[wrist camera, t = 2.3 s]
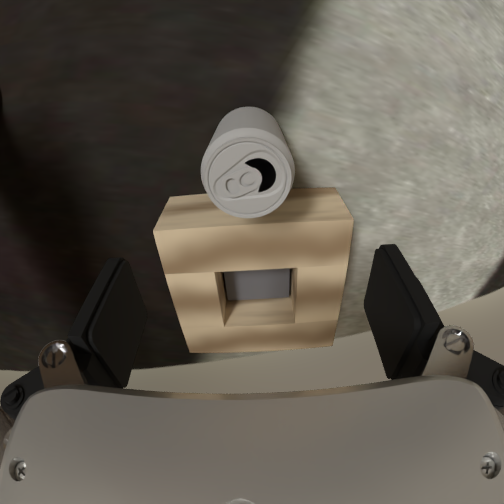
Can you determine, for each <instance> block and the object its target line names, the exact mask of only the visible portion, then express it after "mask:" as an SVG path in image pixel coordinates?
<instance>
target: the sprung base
mask: <svg viewBox="0 0 504 504" xmlns="http://www.w3.org/2000/svg"><path fill="white" fill-rule="evenodd" d="M224 277H225V283H226V290H227V297H228V300H250V299H269V298H286V297H289V278H290V268H283V269H265V270H246V271H226V272H224Z"/></svg>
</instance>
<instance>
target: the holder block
mask: <svg viewBox="0 0 504 504" xmlns="http://www.w3.org/2000/svg"><path fill="white" fill-rule="evenodd" d="M353 223H354V219H353V218H352V216H351V214H350V212H349V211H348V209H347V207H346V205H345V204H344V202H343V200H342V199H341V197H340V195H339V194H338V192H337V190H336V189H335V188H298V189H290V191H289V193H288V195H287V197H286V199H285V200H284V201H283V203H282V204H281V205H280V206H279V207H278V208H277V209H275V210H274V211H272V212H271V213H269V214H266V215H264V216H261V217H256V218H239V217H235V216H232V215H229V214H227V213H225V212H223V211H222V210H220V209H219V208H218V207H217V206H216V205H215V204H214V203H213V202H212V201H211V199H210V198H209V196H208V194H198V195H186V196H175V197H170V198H169V200H168V202H167V204H166V206H165V208H164V210H163V212H162V214H161V216H160V218H159V220H158V222H157V224H156V226H155V228H154V230H153V233H154V237H155V241H156V244H157V248H158V252H159V255H160V259H161V263H162V266H163V270H164V273H165V277H166V280H167V283H168V287H169V290H170V293H171V296H172V300H173V303H174V306H175V309H176V312H177V315H178V318H179V322H180V325H181V328H182V331H183V334H184V336H185V339H186V342H187V345H188V348H189V351H190V353H230V352H258V351H277V350H292V349H304V348H316V347H327V346H332V345H333V341H334V336H335V332H336V327H337V322H338V317H339V312H340V306H341V301H342V295H343V290H344V284H345V278H346V272H347V266H348V259H349V252H350V245H351V238H352V231H353ZM283 268H290V278H289V297H286V298H269V299H250V300H228V297H227V290H226V283H225V277H224V272H226V271H246V270H265V269H283Z"/></svg>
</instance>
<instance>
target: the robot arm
mask: <svg viewBox="0 0 504 504" xmlns="http://www.w3.org/2000/svg"><path fill="white" fill-rule="evenodd" d="M364 309H365V312H366V315H367V318H368V321H369V324H370V327H371V330H372V333H373V336H374V339H375V342H376V345H377V347H378V350H379V354H380V357H381V360H382V363H383V367H384V370H385V373H386V376H387V378H388V379H390V378H391V380H389V381H383V382H376V383H369V384H361V385H353V386H346V387H337V388H329V389H318V390H307V391H293V392H277V393H253V394H200V393H199V394H198V393H173V392H157V391H144V390H133V389H123V387H124V388H125V387H126V386H127V384H128V381H129V377H130V373H131V370H132V366H133V363H134V360H135V356H136V353H137V349H138V346H139V343H140V339H141V336H142V333H143V330H144V326H145V323H146V320H147V310H146V308H145V305H144V303H143V300H142V297H141V295H140V292H139V289H138V287H137V284H136V281H135V279H134V276H133V273H132V270H131V267H130V264H129V262H128V261H125V260H124V258H109V259H108V260H107V262H106V263H105V265H104V267H103V269H102V270H101V272H100V274H99V276H98V277H97V279H96V281H95V283H94V285H93V286H92V288H91V290H90V292H89V294H88V296H87V298H86V300H85V301H84V303H83V305H82V307H81V309H80V311H79V313H78V315H77V317H76V319H75V321H74V323H73V325H72V327H71V329H70V331H69V333H68V339H67V341H66V342H65V341H62V340H56V341H53V342H50V343H49V344H47V345H46V346H45V347H44V348H43V349H42V351H41V353H40V354H39V358H38V364H39V366H38V367H37V368H35V369H33V370H32V371H30V372H29V373H27V374H25V375H24V376H22V377H21V378H19V379H17V380H16V381H14V382H13V383H11V384H10V385H8V386H7V387H6V388H5V390H4V391H3V393H2V395H1V401H0V402H1V406H0V504H504V366H503V365H501V364H499V363H497V362H496V361H494V360H491V359H490V358H488V357H486V356H484V355H482V354H480V353H478V352H476V351H474V342H473V339H472V337H471V336H470V334H469V333H468V332H467V331H466V330H464V329H462V328H461V327H458V326H453V325H449V326H445V327H444V325H443V323H442V321H441V319H440V317H439V315H438V313H437V312H436V310H435V308H434V306H433V304H432V302H431V301H430V299H429V297H428V295H427V293H426V292H425V290H424V288H423V286H422V285H421V283H420V281H419V280H418V278H416V276H415V275H414V273H413V271H412V270H411V268H410V266H409V265H408V263H407V261H406V260H405V258H404V257H403V255H402V253H401V252H400V250H399V249H398V247H397V246H396V245H395V244H387V245H381V246H380V247H379V249H376V250H375V254H374V259H373V264H372V269H371V273H370V278H369V282H368V287H367V291H366V295H365V299H364Z"/></svg>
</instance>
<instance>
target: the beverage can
mask: <svg viewBox="0 0 504 504" xmlns="http://www.w3.org/2000/svg"><path fill="white" fill-rule="evenodd" d="M294 176H295V166H294V161H293V157H292V155H291V152H290V150H289V148H288V145H287V143H286V141H285V138H284V136H283V134H282V131H281V129H280V127H279V125H278V123H277V121H276V120H275V119H274V117H273V116H272V115H270V114H269V113H268V112H266V111H264V110H262V109H259V108H256V107H241V108H238V109H235V110H233V111H231V112H230V113H228V114H227V115H226V116H225V117H224V118H223V119H222V120H221V122H220V123H219V125H218V127H217V129H216V131H215V133H214V135H213V137H212V139H211V142H210V144H209V146H208V148H207V150H206V152H205V154H204V157H203V160H202V164H201V179H202V183H203V186H204V188H205V190H206V192H207V194H208V196H209V198H210V199H211V201H212V202H213V203H214V204H215V205H216V206H217V207H218V208H219V209H220V210H222V211H223V212H225V213H227V214H229V215H232V216H235V217H239V218H256V217H261V216H264V215H266V214H269V213H271V212H272V211H274V210H275V209H277V208H278V207H279V206H280V205H281V204H282V203H283V201H284V200H285V199H286V197H287V195H288V193H289V191H290V189H291V187H292V185H293V181H294Z"/></svg>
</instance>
